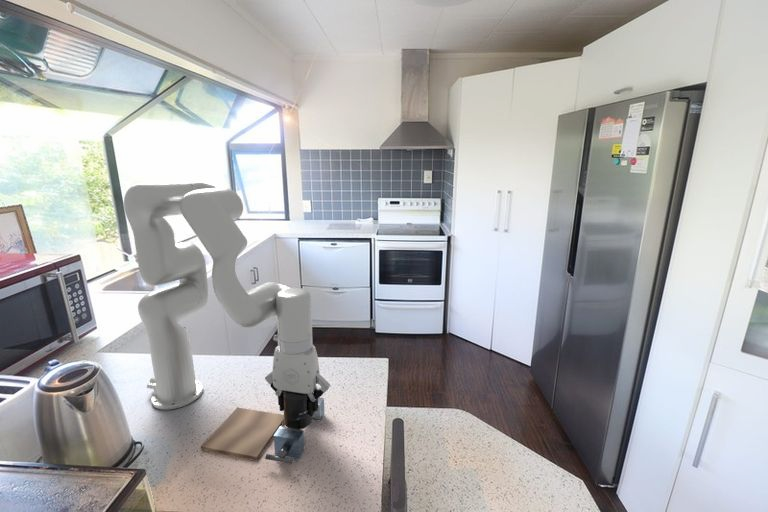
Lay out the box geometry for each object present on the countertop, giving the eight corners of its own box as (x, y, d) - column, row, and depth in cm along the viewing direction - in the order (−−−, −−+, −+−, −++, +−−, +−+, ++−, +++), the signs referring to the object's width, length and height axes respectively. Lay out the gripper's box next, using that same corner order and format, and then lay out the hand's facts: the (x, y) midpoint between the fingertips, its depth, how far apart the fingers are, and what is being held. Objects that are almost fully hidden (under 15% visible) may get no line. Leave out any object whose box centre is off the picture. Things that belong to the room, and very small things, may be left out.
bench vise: (266, 468, 78) (264, 448, 77) (303, 411, 96) (302, 394, 95) (291, 473, 77) (290, 453, 75) (324, 414, 95) (323, 398, 93)
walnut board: (201, 450, 83) (200, 446, 82) (237, 410, 96) (237, 407, 96) (256, 460, 80) (256, 456, 80) (286, 418, 93) (286, 415, 93)
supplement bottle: (306, 433, 84) (304, 388, 81) (279, 428, 85) (276, 383, 82) (317, 414, 90) (316, 371, 87) (291, 409, 91) (290, 367, 88)
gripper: (251, 345, 80) (257, 414, 85) (325, 355, 77) (327, 426, 81) (269, 330, 87) (273, 395, 92) (337, 339, 84) (338, 405, 89)
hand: (298, 409), depth 87 cm, fingers closed on supplement bottle, 6 cm apart
